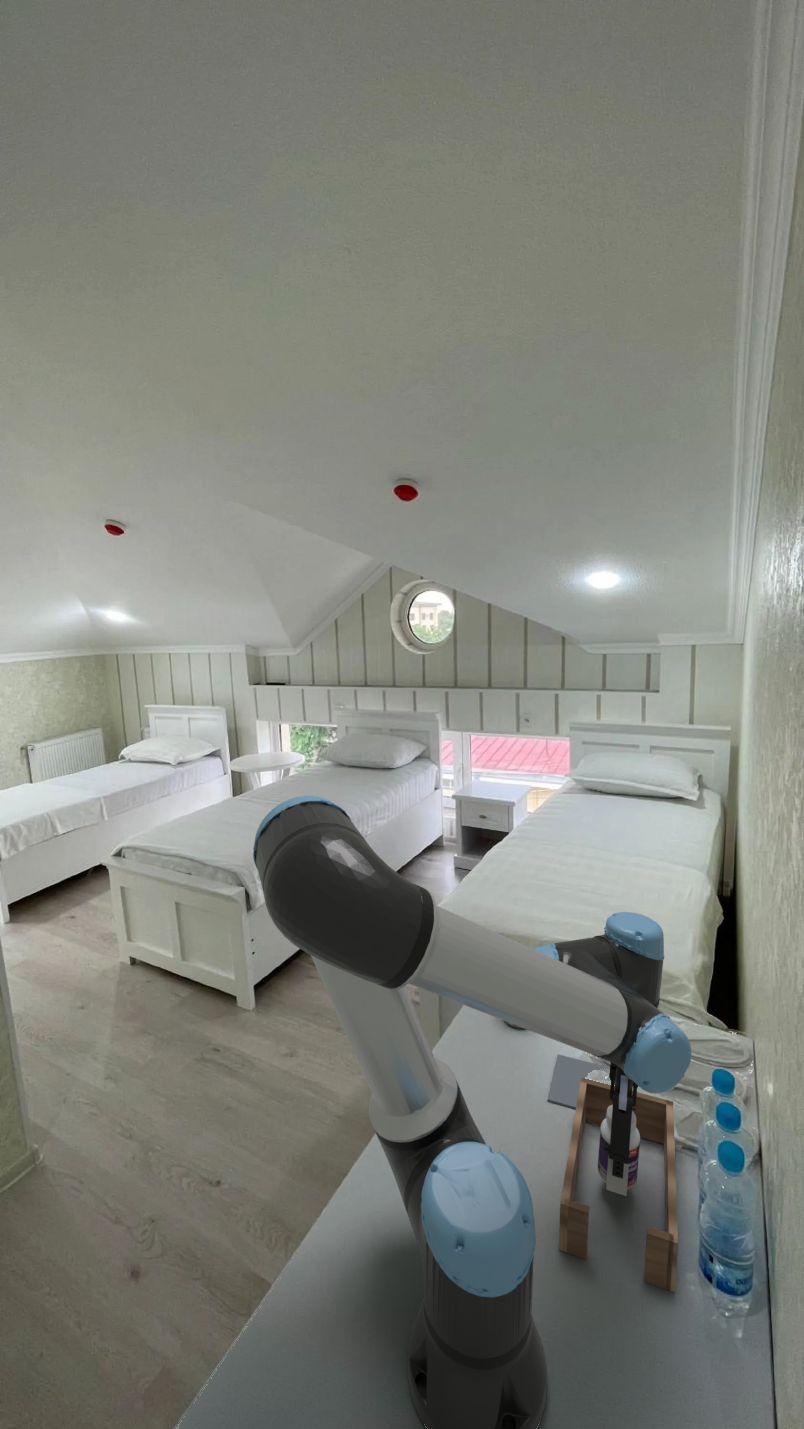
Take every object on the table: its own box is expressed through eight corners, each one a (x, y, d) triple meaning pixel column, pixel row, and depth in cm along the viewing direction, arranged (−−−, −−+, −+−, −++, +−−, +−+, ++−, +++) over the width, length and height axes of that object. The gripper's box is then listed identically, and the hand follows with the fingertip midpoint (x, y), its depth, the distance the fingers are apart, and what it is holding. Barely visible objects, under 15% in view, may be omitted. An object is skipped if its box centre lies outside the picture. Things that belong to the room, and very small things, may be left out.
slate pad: (621, 1122, 101) (621, 1120, 101) (547, 1101, 106) (547, 1099, 106) (624, 1073, 112) (624, 1071, 112) (557, 1056, 117) (557, 1054, 116)
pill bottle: (624, 1199, 85) (629, 1136, 83) (590, 1173, 89) (594, 1112, 87) (644, 1176, 88) (648, 1116, 87) (610, 1152, 92) (614, 1094, 91)
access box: (674, 1292, 75) (678, 1243, 74) (558, 1249, 81) (560, 1203, 80) (670, 1141, 97) (673, 1101, 96) (579, 1115, 103) (581, 1077, 102)
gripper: (657, 1077, 75) (644, 1241, 79) (657, 995, 92) (646, 1133, 95) (593, 1060, 78) (583, 1219, 81) (604, 984, 95) (596, 1118, 98)
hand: (617, 1172), depth 88 cm, fingers closed on pill bottle, 5 cm apart
